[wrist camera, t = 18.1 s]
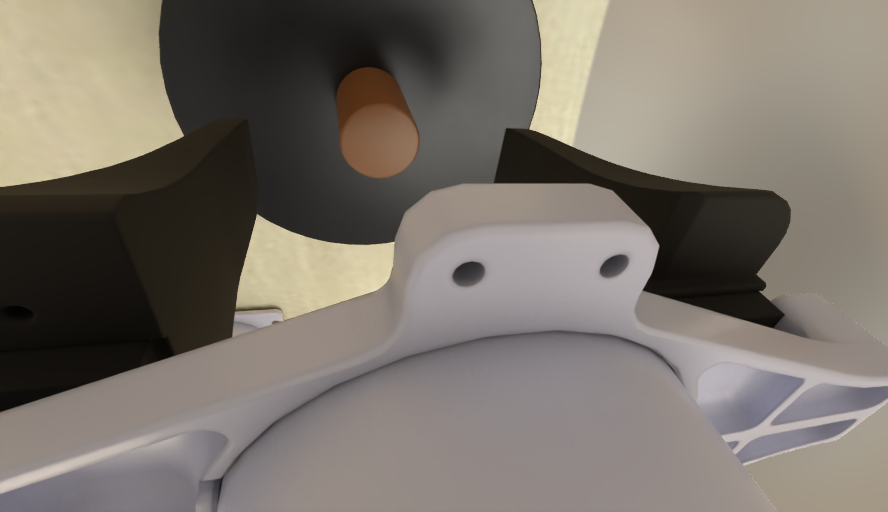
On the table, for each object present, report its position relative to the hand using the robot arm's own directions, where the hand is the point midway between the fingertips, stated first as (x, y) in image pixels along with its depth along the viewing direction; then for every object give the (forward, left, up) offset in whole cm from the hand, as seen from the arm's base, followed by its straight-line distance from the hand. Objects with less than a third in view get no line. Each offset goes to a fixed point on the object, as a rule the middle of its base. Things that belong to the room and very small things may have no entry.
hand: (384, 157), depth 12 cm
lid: (0, 0, -5) cm, 5 cm away
